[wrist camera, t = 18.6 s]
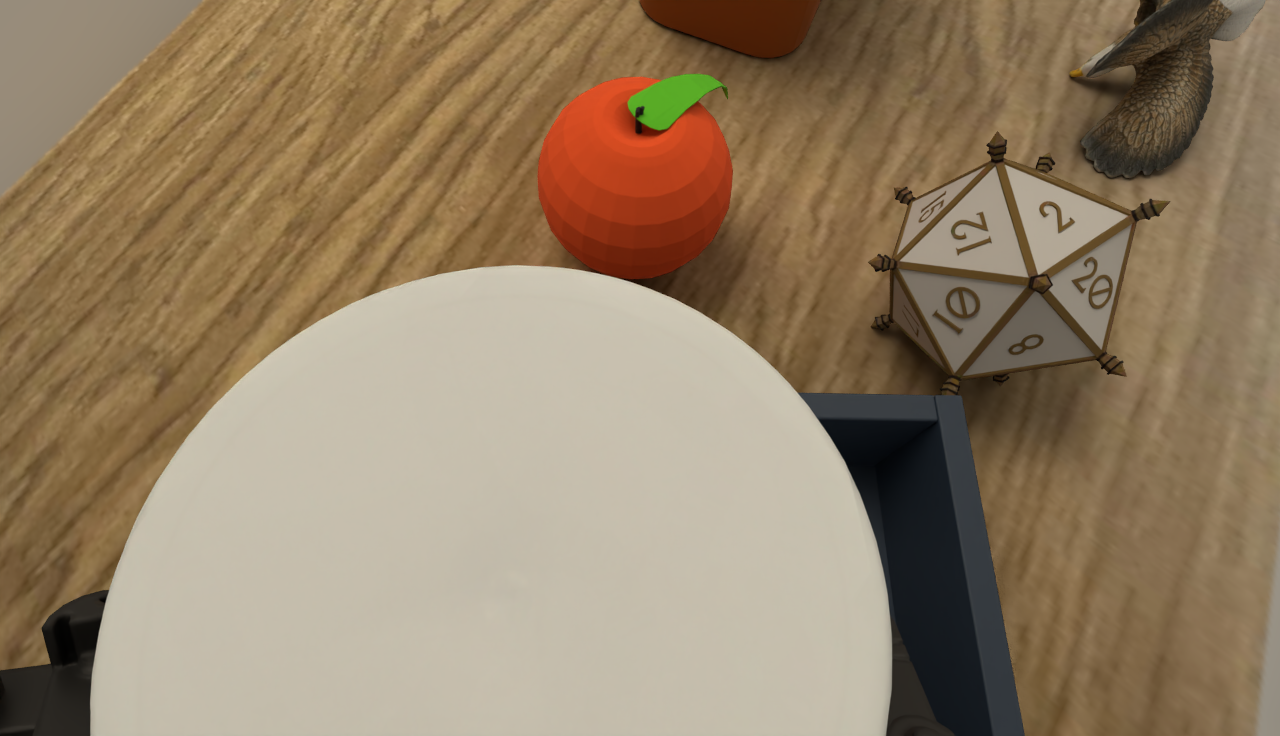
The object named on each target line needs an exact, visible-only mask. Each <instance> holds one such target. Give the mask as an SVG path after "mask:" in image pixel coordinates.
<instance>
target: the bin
mask: <svg viewBox="0 0 1280 736" xmlns="http://www.w3.org/2000/svg"><path fill="white" fill-rule="evenodd" d="M798 394H799V395H800V397H801V398H802V399H803V400H804V401H805V402H806V404H807V405H808V406H809V407H810V409H811V410H812V412H813V413H814V415H815V416H816V418H817V419H818V420H819V422H820V423H821V425H822V426H823V428H824V429H825V430H826V432H827V433H828V435H829V436H830V438H831V439H832V441H833V443H834V444H835V446H836V448H837V449H838V451H839V453H840V454H841V456H842V458H843V459H844V461H845V463H846V465H847V468H848V470H849V472H850V474H851V476H852V478H853V480H854V483H855V485H856V487H857V489H858V491H859V493H860V496H861V499H862V501H863V504H864V507H865V510H866V512H867V515H868V518H869V521H870V524H871V527H872V530H873V533H874V536H875V539H876V542H877V546H878V550H879V555H880V559H881V563H882V567H883V572H884V577H885V582H886V588H887V593H888V602H889V612H890V616H891V618H892V619H893V620H894V621H895V623H896V626H897V628H898V631H899V633H900V635H901V638H902V640H903V645H905V647H906V650H907V652H908V654H909V657H910V661H912V664H913V666H914V669H915V671H916V673H917V676H918V678H919V680H920V683H921V685H922V688H923V690H924V692H925V695H926V697H927V699H928V702H929V704H930V707H931V709H932V711H933V714H934V716H935V718H936V721H937V722H938V723H940V724H941V725H943V726H945V727H946V728H948V729H949V730H951V731H952V732H953V733H954V734H955V736H1025V735H1024V729H1023V724H1022V718H1021V713H1020V708H1019V702H1018V697H1017V691H1016V686H1015V681H1014V675H1013V670H1012V665H1011V659H1010V654H1009V648H1008V643H1007V638H1006V632H1005V627H1004V621H1003V616H1002V611H1001V605H1000V600H999V595H998V589H997V584H996V578H995V573H994V568H993V562H992V557H991V551H990V546H989V541H988V535H987V530H986V525H985V519H984V514H983V508H982V503H981V498H980V492H979V487H978V481H977V476H976V471H975V465H974V460H973V455H972V449H971V444H970V438H969V433H968V428H967V422H966V417H965V411H964V406H963V401H962V396H960V395H935V396H932V395H892V394H836V393H798Z"/></svg>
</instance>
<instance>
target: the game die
mask: <svg viewBox="0 0 1280 736" xmlns="http://www.w3.org/2000/svg"><path fill="white" fill-rule="evenodd" d="M1006 144H1007V140H1005V139H1004V138H1003V137H1002V136H1001V135H1000V133H999V132H998V131H997V132H996V134H995V135H994V137H993V138H992V140H991V141H990V143H988V144H987V146H988V147H989V151H987V153H988V154H990V156H991V161H989V162H987V163H985V164H983V165H981V166H979V167H977V168H975V169H973V170H971V171H969V172H967V173H965V174H963V175H961V176H959V177H957V178H955V179H953V180H951V181H949V182H947V183H945V184H943V185H941V186H939V187H937V188H935V189H933V190H931V191H929V192H927V193H925V194H923V195H921V196H919V197H917V198H915V197H913V195H912V191H909V190H907V189H908V187H905V188H894V190H895V195H896V198H895V199H896V200H900V203H904V204H907V205H908V208H907V211H906V214H905V217H904V221H903V224H902V227H901V230H900V234H899V237H898V240H897V244H896V247H895V250H894V253H893V257H892V259H890V258H889V257H888V256H887V255H884V256H881V255H880V254H878V255H877V257H875V258H874V259H872V260H871V261H869V262H868V263H869V264H870V265H871V266H872V267H873V268H874V269H875V272H877V271H880V270H882V272H884V271H887V270H889V269H890V314H889V315H881V317H875V321H874V322H873V324H872V326H871V327H874V328H878V329H881V330H883V329H884V328H885V327H887V328H888V327H889V325H890V324H891V323H895V324H896V325H897V326H898V327H899V328H900V329H901V330H902V331H903V332H904V333H905V334H906V335H907V336H908V337H909V338H910V339H911V340H912V341H913V342H915V343H916V344H917V345H918V346H919V347H920V348H921V349H922V350H923V351H924V352H925V353H926V354H927V355H928V356H929V357H930V358H931V359H932V360H933V361H934V362H935V363H936V364H937V365H938V366H939V367H940V368H941V369H942V370H943V371H944V372H945V373H946V374H947V375H948V376H949V379H948V380H947V381H946V382H943V384H944V386H943V388H940V391H942V395H957V393H958V392H957V391H959V388H960V386H959V382H960V381H963V380H969V379H976V378H982V377H989V376H993V381H996V382H997V383H998V384H999V385H1000V386H1001V385H1002V384H1003V383H1004V382H1005V381H1006V380H1008V379H1009V376H1008V374H1009V373H1015V372H1021V371H1028V370H1034V369H1041V368H1047V367H1054V366H1060V365H1067V364H1073V363H1080V362H1086V361H1093V360H1097V361H1099V363H1100V364H1101V366H1102V367H1101V369H1103V368H1104V369H1105V370H1106V371H1107V372H1108V373H1107V374H1108V375H1109V374H1115V375H1120V376H1126V373H1125V370H1124V367H1123V364H1122V363H1123V361H1119V360H1118V359H1116V356H1111V355H1109V354H1107V352H1106V349H1107V344H1108V340H1109V336H1110V332H1111V328H1112V324H1113V319H1114V315H1115V311H1116V307H1117V303H1118V298H1119V294H1120V290H1121V286H1122V282H1123V278H1124V273H1125V269H1126V265H1127V261H1128V257H1129V253H1130V248H1131V244H1132V240H1133V236H1134V232H1135V228H1136V223H1137V221H1139V220H1141V219H1148V220H1149V219H1151V218H1150V217H1153V216H1160V213H1161V212H1162V210H1163V209H1164V208H1165V207H1166V206H1167V205H1168V204H1169V203H1170V201H1156V200H1152V199H1149V202H1147V203H1145V204H1143V203H1141V204H1140V205H1141V206H1140V207H1138V208H1137V209H1136V210H1133V211H1131V210H1128V209H1126V208H1124V207H1122V206H1119V205H1117V204H1115V203H1113V202H1110V201H1108V200H1106V199H1104V198H1101V197H1099V196H1097V195H1095V194H1092V193H1090V192H1088V191H1086V190H1083V189H1081V188H1079V187H1077V186H1074V185H1072V184H1070V183H1068V182H1065V181H1063V180H1061V179H1059V178H1056V177H1054V176H1052V175H1050V174H1047V173H1048V172H1049V171H1051V170H1052V165H1055V162H1054V161H1053V160H1052V157H1051V155H1050V153H1048V154H1046V155H1044V156H1043V157H1039V160H1038V163H1037V165H1036V169H1034V168H1031V167H1028V166H1025V165H1022V164H1019V163H1016V162H1013V161H1010V160H1007V159H1005V158H1003V156H1004V154H1006V147H1005V146H1006ZM1126 377H1127V376H1126Z"/></svg>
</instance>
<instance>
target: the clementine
mask: <svg viewBox="0 0 1280 736" xmlns="http://www.w3.org/2000/svg"><path fill="white" fill-rule="evenodd" d="M719 87H722V89H723V91H724V93H725V95H726V98H727V99H728V92H727V87H726V86H724V85H723V84H722V83H721V82H719V81H718V80H716V79H714V78H713V77H711V76H710V75H702V74H684V75H679V76H675V77H670V78H667V79H665V80H662V81H661V80H657V79H651V78H645V77H623V78H618V79H614V80H610V81H606V82H603V83H601V84H599V85H597V86H595V87H593V88H591V89H590V90H588V91H586V92H584V93H582V94H581V95H579V96H577V97H576V98H575V99H574V100H573V101H572V102H571V103H569V104H568V105H567V106H566V107H565V108H564V109H563V110H562V111H561V113H560V115H559V116H558V118H557V119H556V121H555V122H554V124H553V126H552V127H551V129H550V131H549V133H548V134H547V136H546V138H545V140H544V143H543V147H542V151H541V154H540V158H539V166H538V191H539V199H540V202H541V205H542V207H543V210H544V213H545V215H546V218H547V221H548V223H549V226H550V228H551V231H552V232H553V234H554V235H555V236H556V237H557V239H558V240H559V241H560V243H561V244H562V245H563V246H564V248H565V249H566V250H567V251H569V252H570V253H571V254H572V255H573V256H575V257H576V258H577V259H579V260H580V261H581V262H583V263H584V264H585V265H587V266H588V267H589V268H592V269H594V270H596V271H599V272H601V273H603V274H606V275H608V276H613V277H619V278H625V279H645V278H654V277H657V276H660V275H663V274H666V273H670V272H672V271H674V270H676V269H677V268H679V267H681V266H682V265H684V264H685V263H687V262H689V261H690V260H692V259H694V258H695V257H697V256H698V255H699V254H700V253H701V252H702V251H703V250H704V249H705V248H706V247H707V246H708V244H709V243H710V242H711V241H712V240H713V238H714V237H715V235H716V233H717V231H718V229H719V227H720V225H721V223H722V221H723V219H724V217H725V215H726V213H727V211H728V209H729V203H730V196H731V188H732V175H733V170H732V164H731V159H730V153H729V149H728V147H727V144H726V141H725V139H724V136H723V134H722V132H721V130H720V128H719V126H718V124H717V123H716V121H715V119H714V118H713V117H712V115H711V114H710V113H709V112H708V111H707V110H706V109H705V108H704V107H703V106H702V105H701V104H700V103H699V102H698V100H700V99H701V98H702V97H703V96H704V95H705V94H707V93H708V92H710V91H712V90H714V89H717V88H719Z"/></svg>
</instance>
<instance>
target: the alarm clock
mask: <svg viewBox="0 0 1280 736" xmlns="http://www.w3.org/2000/svg"><path fill="white" fill-rule="evenodd" d="M820 2H821V0H640V3H641V6H642V8H643V9H644V11H645V12H646V13H647V14H648V16H650V17H651V18H652V19H654V20H655V21H656V22H658V23H660V24H663V25H665V26H667V27H670V28H673V29H676V30H679V31H682V32H684V33H687V34H690V35H693V36H696V37H699V38H702V39H705V40H707V41H710V42H713V43H716V44H719V45H722V46H725V47H728V48H731V49H733V50H736V51H739V52H742V53H745V54H748V55H752V56H756V57H763V58H773V57H779V56H783V55H785V54H788V53H790V52H792V51H793V50H794V49H796V48H797V47H798V46H799V45H800V44H801V43H802V41H803V40H804V38H805V37H806V35H807V32H808V30H809V28H810V25H811V23H812V20H813V18H814V16H815V13H816V11H817V9H818V6H819V4H820Z"/></svg>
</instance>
